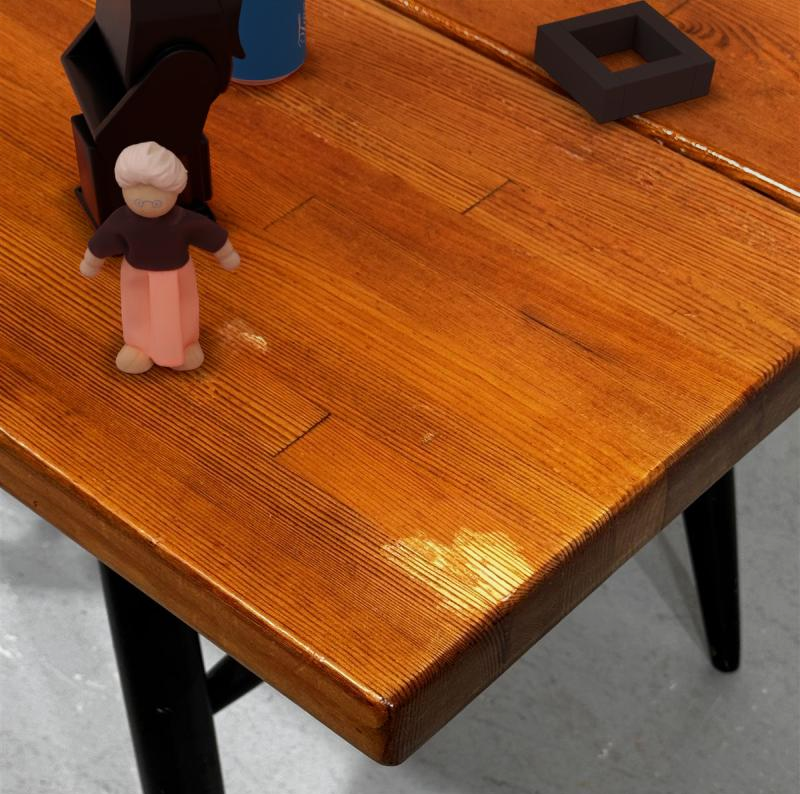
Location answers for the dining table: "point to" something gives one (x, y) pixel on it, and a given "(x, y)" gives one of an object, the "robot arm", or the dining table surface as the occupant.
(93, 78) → the robot arm
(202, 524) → the dining table surface
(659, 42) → the dark grey square frame
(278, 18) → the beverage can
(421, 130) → the dining table surface
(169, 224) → the grandmother figurine
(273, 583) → the dining table surface
